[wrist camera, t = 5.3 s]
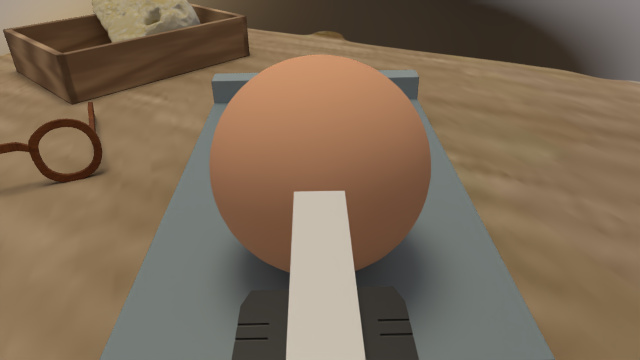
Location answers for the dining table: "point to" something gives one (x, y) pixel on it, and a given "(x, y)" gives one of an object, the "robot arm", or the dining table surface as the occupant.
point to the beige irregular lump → (143, 17)
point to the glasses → (51, 125)
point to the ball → (320, 155)
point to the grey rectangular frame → (392, 270)
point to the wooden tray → (121, 53)
